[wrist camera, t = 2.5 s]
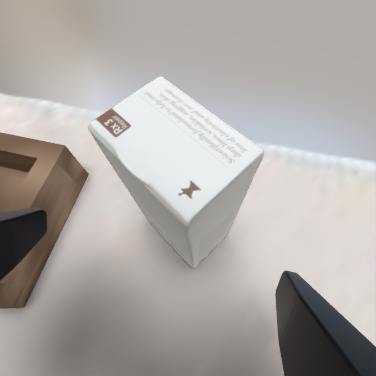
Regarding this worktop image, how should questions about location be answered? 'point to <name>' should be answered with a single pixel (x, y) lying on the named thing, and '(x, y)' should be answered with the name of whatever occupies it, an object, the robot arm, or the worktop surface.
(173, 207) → the skincare box
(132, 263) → the worktop surface
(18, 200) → the walnut socket
